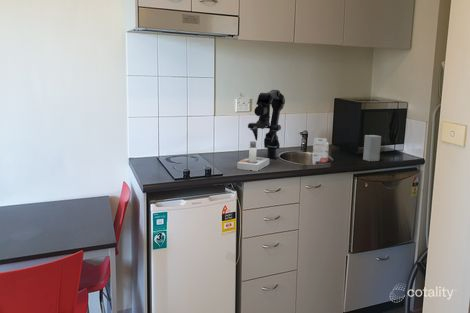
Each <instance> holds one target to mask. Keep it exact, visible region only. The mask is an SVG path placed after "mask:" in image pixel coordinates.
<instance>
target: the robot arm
mask: <svg viewBox="0 0 470 313" xmlns="http://www.w3.org/2000/svg"><path fill="white" fill-rule="evenodd" d="M285 104H286V99H285V96H284V94H282V93H281V91H280V90H279V89H271V90H270V91H268V92H260V93H259V94H258V96H257V101H256V106H255V108H254V111H253V112H254V115H255V116H256V117H258V120H257V121H256V122H249V123H248V124H247V129H249V130H251V131H252V133H253V135H254V139H255V142H257V141H258V134H259V133H258V132H259V131H258V130H259V129H261V130H264V129H269V131H268V132H266V133H265V135H264V136H265V137H264V139H263V146H264V147H263V148H265V149H266V150H267V151H266V157H265V158H270V159H274V160H276V159H277V158H278V156H277V150H279V149H280V147H281V146H280V142H279V136H278V134H277V132H279V131H280V130H281V129H282V125H281V124H279V121H280V120H279V119H280V114H281V111H282V110H283V109H284V107H285V106H284V105H285ZM271 108H272V114H270V113H271Z"/></svg>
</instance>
